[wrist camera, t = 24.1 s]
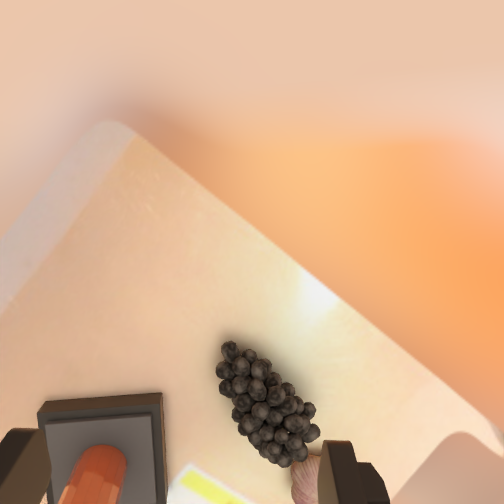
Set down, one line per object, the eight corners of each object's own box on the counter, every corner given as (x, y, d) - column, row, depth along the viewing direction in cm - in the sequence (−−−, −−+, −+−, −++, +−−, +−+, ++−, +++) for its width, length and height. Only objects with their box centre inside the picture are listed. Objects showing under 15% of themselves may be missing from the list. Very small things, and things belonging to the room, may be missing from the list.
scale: (53, 501, 47) (43, 523, 44) (41, 401, 45) (29, 417, 41) (168, 489, 48) (165, 510, 45) (162, 392, 46) (159, 407, 43)
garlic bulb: (280, 454, 49) (295, 505, 42) (336, 437, 50) (361, 485, 42) (293, 503, 51) (309, 562, 43) (347, 487, 51) (372, 542, 44)
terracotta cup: (78, 490, 44) (49, 562, 35) (74, 446, 43) (43, 510, 34) (129, 485, 44) (112, 555, 36) (125, 442, 43) (107, 503, 35)
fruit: (208, 381, 37) (287, 498, 40) (275, 327, 39) (344, 440, 42) (187, 359, 45) (254, 457, 48) (244, 316, 47) (304, 411, 50)
